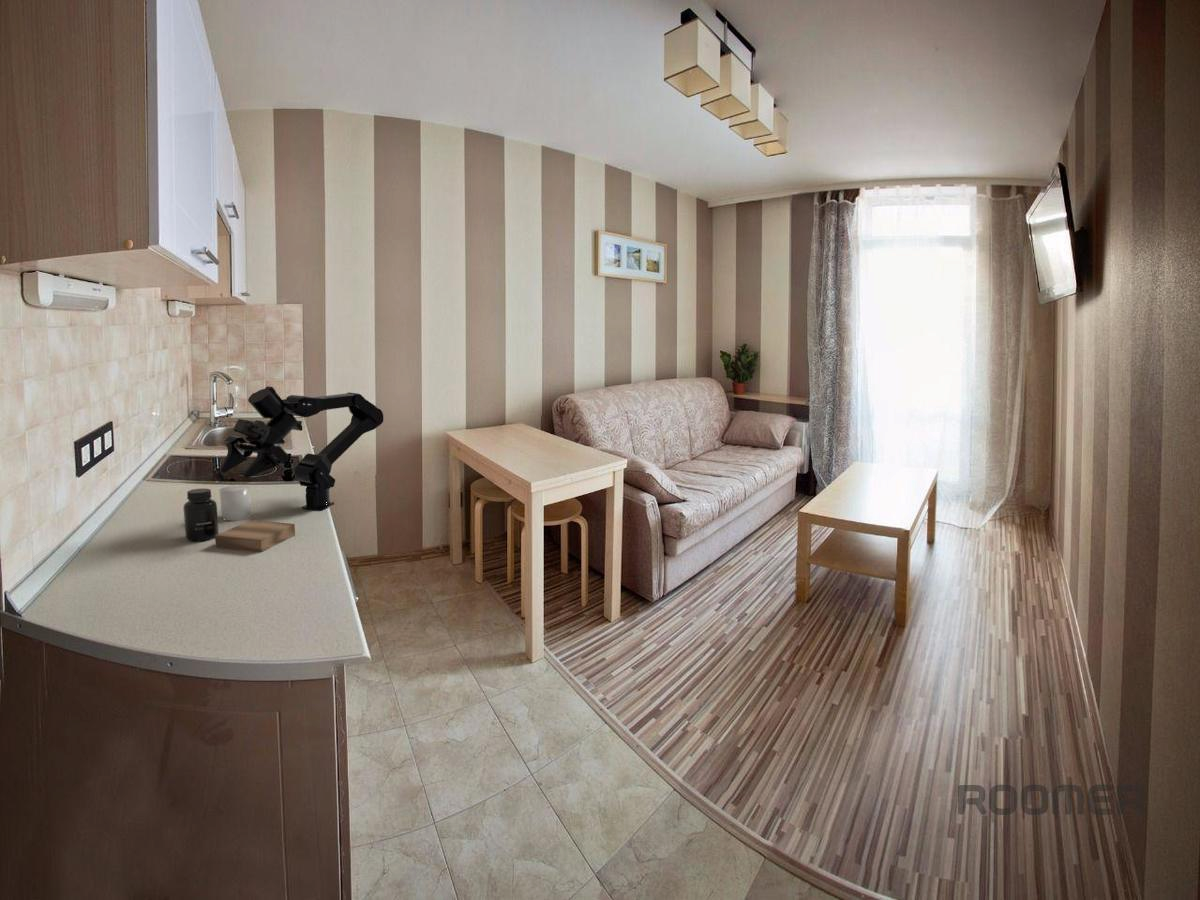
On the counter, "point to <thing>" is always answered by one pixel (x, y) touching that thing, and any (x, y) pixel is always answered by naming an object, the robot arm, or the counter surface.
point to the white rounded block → (235, 502)
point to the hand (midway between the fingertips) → (233, 474)
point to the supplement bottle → (200, 515)
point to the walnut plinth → (255, 535)
